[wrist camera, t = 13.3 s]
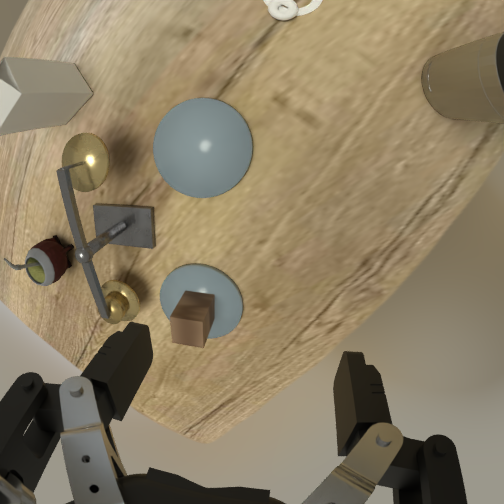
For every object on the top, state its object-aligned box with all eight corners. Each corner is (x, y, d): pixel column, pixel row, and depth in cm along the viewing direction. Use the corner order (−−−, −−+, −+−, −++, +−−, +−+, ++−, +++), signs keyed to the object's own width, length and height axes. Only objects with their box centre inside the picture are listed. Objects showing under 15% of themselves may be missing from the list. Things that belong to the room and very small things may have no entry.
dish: (245, 268, 44) (244, 272, 44) (241, 339, 50) (240, 343, 49) (159, 258, 46) (156, 261, 45) (165, 327, 51) (163, 331, 50)
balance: (153, 126, 38) (95, 133, 25) (160, 309, 49) (126, 364, 37) (93, 130, 39) (29, 141, 26) (109, 299, 50) (68, 347, 38)
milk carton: (94, 93, 36) (-5, 95, 19) (66, 125, 39) (-30, 143, 21) (75, 63, 35) (-21, 55, 17) (48, 94, 37) (-45, 102, 19)
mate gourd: (60, 273, 50) (9, 316, 36) (41, 235, 47) (-15, 271, 33) (85, 262, 48) (31, 308, 34) (65, 221, 45) (4, 258, 32)
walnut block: (214, 294, 46) (202, 322, 39) (214, 319, 47) (203, 348, 41) (185, 290, 46) (169, 316, 40) (186, 314, 48) (172, 342, 41)
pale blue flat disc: (256, 99, 35) (255, 99, 34) (249, 199, 40) (248, 201, 39) (157, 99, 36) (154, 99, 35) (156, 193, 42) (153, 194, 41)
